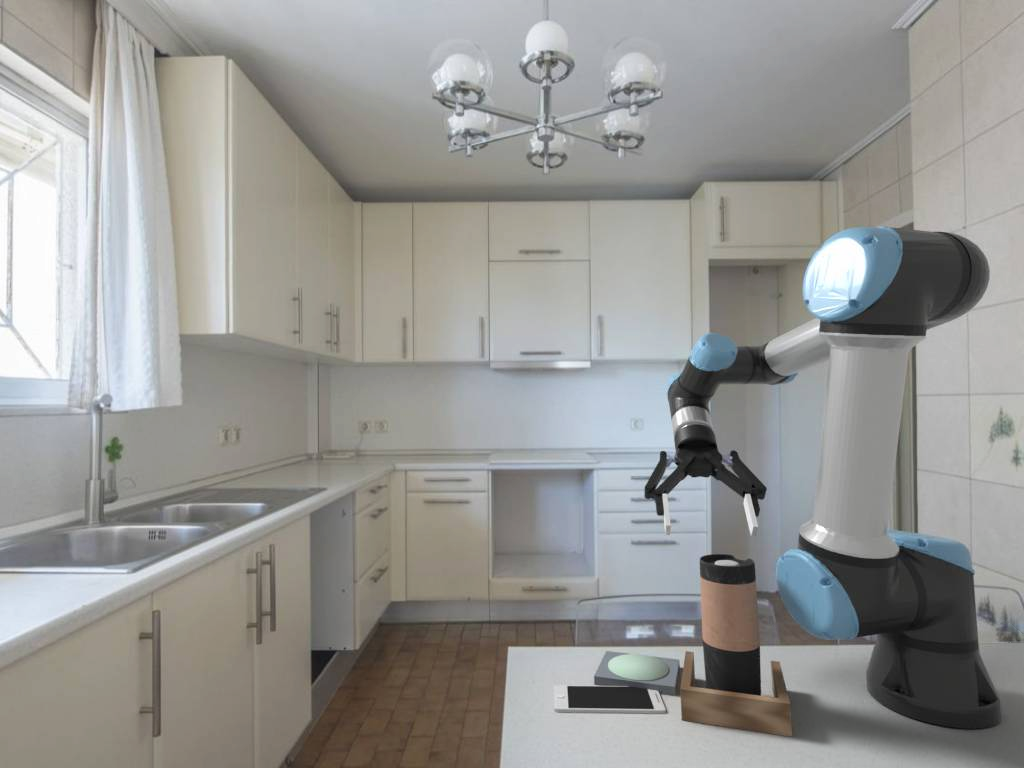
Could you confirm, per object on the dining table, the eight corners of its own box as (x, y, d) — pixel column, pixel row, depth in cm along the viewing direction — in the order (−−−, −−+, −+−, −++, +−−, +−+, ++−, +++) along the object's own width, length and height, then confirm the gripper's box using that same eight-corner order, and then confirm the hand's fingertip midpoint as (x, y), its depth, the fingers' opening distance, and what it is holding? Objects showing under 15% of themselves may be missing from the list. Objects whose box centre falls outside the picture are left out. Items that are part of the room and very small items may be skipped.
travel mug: (711, 716, 76) (704, 566, 77) (700, 689, 83) (694, 553, 85) (770, 719, 75) (762, 567, 76) (754, 692, 82) (747, 553, 84)
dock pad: (679, 667, 91) (679, 658, 91) (675, 695, 82) (674, 685, 82) (606, 658, 95) (606, 649, 95) (594, 684, 86) (594, 674, 86)
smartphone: (553, 690, 85) (553, 684, 85) (656, 692, 84) (656, 685, 84) (554, 715, 78) (553, 708, 78) (666, 717, 77) (666, 709, 77)
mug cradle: (781, 689, 83) (779, 661, 83) (792, 736, 71) (790, 704, 71) (686, 677, 88) (685, 651, 88) (681, 719, 75) (680, 689, 75)
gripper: (759, 448, 108) (787, 545, 92) (627, 449, 112) (633, 542, 96) (766, 421, 103) (796, 518, 87) (627, 423, 107) (633, 516, 91)
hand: (710, 531), depth 92 cm, fingers open, 13 cm apart
